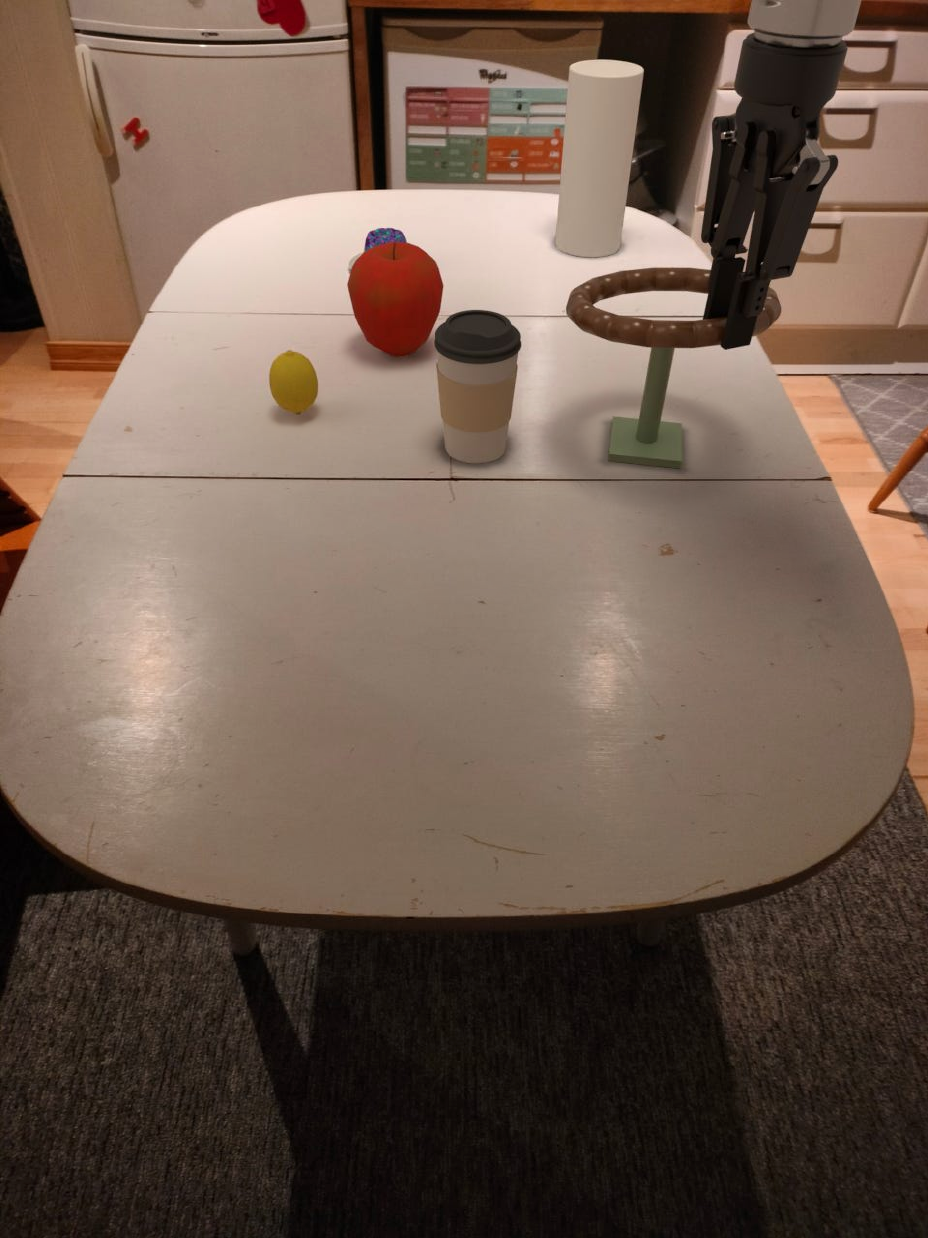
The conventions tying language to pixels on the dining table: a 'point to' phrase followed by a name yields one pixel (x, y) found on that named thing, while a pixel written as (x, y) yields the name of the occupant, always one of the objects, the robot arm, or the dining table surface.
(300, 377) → the lemon
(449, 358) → the coffee cup
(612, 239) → the tall pillar cylinder
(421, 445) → the dining table surface
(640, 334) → the ring
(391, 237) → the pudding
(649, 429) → the post
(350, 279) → the apple
